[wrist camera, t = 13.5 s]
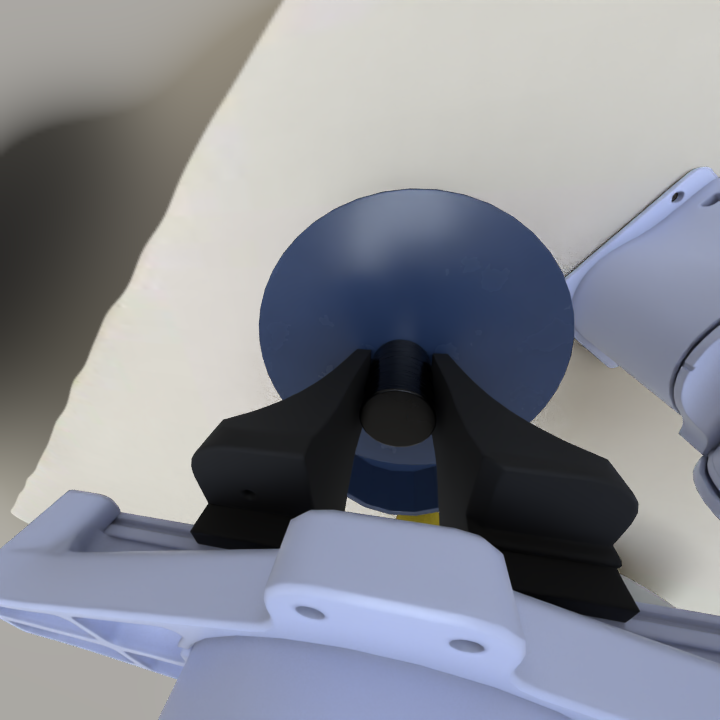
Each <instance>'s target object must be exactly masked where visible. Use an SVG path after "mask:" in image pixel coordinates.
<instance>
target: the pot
mask: <svg viewBox="0 0 720 720" xmlns="http://www.w3.org/2000/svg"><path fill="white" fill-rule="evenodd" d="M347 497H348V498H350V499H351V500H353V501H355V502H357V503H358V504H360V505H362V506H364V507H366V508H370V509H373V510H377V511H380V512H383V513H387V514H393V515H409V516H418V515H424V514H429V513H435V512H439V502H438V482H437V466H436V463H435V464H420V465H409V464H395V463H389V462H383V461H378V460H374V459H370V458H366V457H363V456H360V455H357V454H355V455H354V460H353V465H352V471H351V476H350V482H349V488H348V494H347Z"/></svg>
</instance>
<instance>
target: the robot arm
mask: <svg viewBox="0 0 720 720" xmlns="http://www.w3.org/2000/svg"><path fill="white" fill-rule="evenodd" d="M675 193H678V196H677V198H676V199H675V201H673V202H672V201H671V199H672V196H673V195H674V194H675ZM565 281H566V283H567V286H568V289H569V291H570V295H571V300H572V306H573V311H574V338H575V339H576V340H577V341H578V342H580V343H581V344H582V345H583V346H584V347H585V348H587V349H588V350H589V351H590V352H591V353H592V354H593V355H595V356H596V357H597V358H598V359H599V360H600V361H601V362H603V363H604V364H605V365H606V366H607V367H609V368H615V367H618V366H620V367H621V368H623V369H624V370H625V371H626V372H628V373H629V374H630V375H631V376H633V377H634V378H635V379H636V380H638V381H639V382H640V383H641V384H643V385H644V386H645V387H646V388H648V389H649V390H650V391H651V392H652V393H654V394H655V395H656V396H657V397H659V398H660V399H661V400H662V401H664V402H665V403H666V404H667V405H669V406H670V407H671V408H672V409H674V410H675V411H676V412H677V413H679V414H680V415H681V416H682V418H683V425H682V428H681V430H680V432H679V434H680V435H681V436H682V437H683V438H684V439H685V440H686V441H687V442H689V443H690V444H691V445H692V446H693V447H694V448H695V449H697V450H698V451H699V452H700V453H701V454H702V455H704V456H702V457H701V458H700V459H699V461H698V462H697V463H696V465H695V468H694V470H693V480H694V483H695V486H696V489H697V491H698V493H699V494H700V496H701V498H702V499H703V501H704V502H705V504H706V505H707V506H708V507H709V509H710V510H711V511H712V512H713V513H714V515H715V516H716V517H717V518H718V519H719V520H720V177H718V176H717V175H716V174H715V173H714V172H713V170H712V169H711V168H709V167H698V168H696V169H693V170H692V171H690V172H689V173H687V174H686V175H685V176H684V177H683V178H682V179H680V180H679V181H678V182H677V183H676V184H674V185H673V186H672V187H671V188H670V189H669V190H667V191H666V192H665V193H664V194H663V195H662V196H660V197H659V198H658V199H657V200H656V201H655V202H653V203H652V204H651V205H650V206H649V207H647V208H646V209H645V210H644V211H643V212H642V213H640V214H639V215H638V216H637V217H636V218H635V219H633V220H632V221H631V222H630V223H629V224H628V225H626V226H625V227H624V228H623V229H622V230H620V231H619V232H618V233H617V234H616V235H615V236H613V237H612V238H611V239H610V240H609V241H608V242H606V243H605V244H604V245H603V246H602V247H600V248H599V249H598V250H597V251H596V252H595V253H593V254H592V255H591V256H590V257H589V258H588V259H586V260H585V261H584V262H583V263H582V264H581V265H579V266H578V267H577V268H576V269H575V270H573V271H572V272H571V273H570V274H569V275H568V276H566V277H565ZM370 366H371V350H366V349H357V350H356V351H354V352H353V353H352V354H351V355H350V356H349V357H348V358H347V359H345V360H344V361H343V362H342V363H341V364H340V365H339V366H337V367H336V368H335V369H334V370H333V371H331V372H330V373H329V374H327V375H326V376H325V377H323V378H322V379H321V380H319V381H318V382H316V383H314V384H313V385H311V386H309V387H308V388H306V389H304V390H303V391H301V392H299V393H297V394H294V395H292V396H290V397H288V398H286V399H284V400H282V401H280V402H277V403H275V404H272V405H270V406H267V407H264V408H261V409H258V410H255V411H252V412H249V413H246V414H242V415H238V416H235V417H231V418H228V419H224V420H223V421H222V422H221V423H220V424H219V425H218V426H217V427H216V429H215V430H214V431H213V432H212V433H211V434H210V436H209V437H208V438H207V439H206V440H205V441H204V443H203V444H202V445H201V446H200V447H199V448H198V450H197V451H196V452H195V454H194V455H193V457H192V462H191V467H192V471H193V474H194V476H195V478H196V480H197V482H198V484H199V486H200V488H201V490H202V492H203V494H204V496H205V497H206V499H207V501H208V505H207V506H206V508H205V509H204V511H203V512H202V514H201V515H200V517H199V518H198V520H197V521H196V523H195V524H194V525H192V524H186V523H180V522H174V521H169V520H163V519H157V518H151V517H146V516H140V515H134V514H128V513H122V512H120V509H119V507H118V505H117V504H116V503H115V502H114V501H113V500H112V499H111V498H109V497H107V496H105V495H102V494H97V493H91V492H85V491H79V490H69V491H67V492H66V493H65V494H64V495H63V496H62V497H60V498H59V499H58V500H57V501H56V502H55V503H53V504H52V505H51V506H50V507H49V508H47V509H46V510H45V511H44V512H43V513H42V514H40V515H39V516H38V517H37V518H36V519H35V520H33V521H32V522H31V523H30V524H29V525H28V526H26V527H25V528H24V529H23V530H22V531H20V532H19V533H18V534H17V535H16V536H15V537H14V538H12V539H11V540H10V541H9V542H8V543H6V544H5V545H4V546H3V547H2V548H0V619H2V620H4V621H6V622H8V623H9V624H11V625H13V626H15V627H17V628H19V629H21V630H23V631H25V632H27V633H31V634H35V635H38V636H41V637H45V638H49V639H52V640H56V641H59V642H62V643H66V644H69V645H73V646H76V647H79V648H82V649H86V650H89V651H92V652H95V653H98V654H101V655H104V656H107V657H110V658H113V659H116V660H120V661H123V662H126V663H129V664H132V665H135V666H138V667H141V668H144V669H147V670H150V671H153V672H156V673H159V674H162V675H165V676H168V677H171V678H174V679H177V682H176V684H175V686H174V688H173V690H172V692H171V694H170V696H169V698H168V700H167V702H166V704H165V706H164V708H163V710H162V713H161V715H160V717H159V719H158V720H720V616H717V615H711V614H706V613H700V612H694V611H688V610H683V609H677V608H671V607H665V606H660V605H654V604H648V603H642V602H636V601H634V599H633V597H632V596H631V594H630V592H629V590H628V588H627V586H626V585H625V583H624V581H623V579H622V577H621V576H620V574H619V572H618V570H617V568H620V567H621V566H622V562H621V559H620V558H619V556H618V554H617V552H616V551H615V549H614V547H613V544H614V543H615V542H616V541H617V540H618V539H619V538H620V536H621V535H622V534H623V533H624V532H625V531H626V530H627V529H628V527H629V526H630V525H631V524H632V522H633V520H634V519H635V517H636V515H637V513H638V501H637V499H636V497H635V495H634V494H633V492H632V491H631V489H630V488H629V487H628V485H627V484H626V483H625V482H624V480H623V479H622V478H621V476H620V475H619V474H618V472H617V471H616V470H615V468H614V467H613V466H612V464H611V463H610V462H609V461H608V460H607V459H605V458H603V457H600V456H598V455H596V454H593V453H591V452H589V451H586V450H584V449H582V448H579V447H577V446H575V445H572V444H570V443H568V442H566V441H564V440H562V439H560V438H558V437H556V436H554V435H552V434H550V433H548V432H546V431H544V430H542V429H540V428H538V427H537V426H535V425H533V424H531V423H529V422H528V421H526V420H525V419H523V418H521V417H520V416H518V415H516V414H515V413H513V412H512V411H510V410H509V409H507V408H506V407H504V406H503V405H502V404H500V403H499V402H498V401H496V400H495V399H493V398H492V397H491V396H490V395H488V394H487V393H486V392H485V391H484V390H483V389H481V388H480V387H479V386H478V385H477V384H476V383H475V382H474V381H473V380H472V379H471V378H470V377H469V376H468V375H467V374H466V373H465V372H464V371H463V370H462V369H461V368H460V367H459V366H458V365H457V364H456V362H455V361H454V360H453V359H452V358H451V357H450V356H449V355H448V354H437V353H433V356H432V364H431V372H432V381H433V390H434V399H435V408H436V416H437V423H436V427H435V429H434V431H433V433H432V438H433V445H434V451H435V457H436V466H437V482H438V502H439V526H438V525H432V524H425V523H418V522H412V521H405V520H398V519H392V518H385V517H378V516H372V515H365V514H358V513H352V512H345V506H346V500H347V494H348V488H349V482H350V476H351V471H352V465H353V460H354V455H355V451H356V447H357V444H358V441H359V437H360V434H361V430H362V425H361V422H360V418H359V411H360V407H361V403H362V399H363V395H364V391H365V387H366V383H367V379H368V375H369V370H370Z"/></svg>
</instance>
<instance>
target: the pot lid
mask: <svg viewBox="0 0 720 720" xmlns="http://www.w3.org/2000/svg"><path fill="white" fill-rule="evenodd" d="M259 337H260V346H261V351H262V357H263V360H264V363H265V366H266V369H267V372H268V374H269V377H270V379H271V381H272V383H273V385H274V387H275V389H276V390H277V392H278V394H279V395H280V397H281V398H282V400H284V399H286V398H288V397H290V396H292V395H294V394H297V393H299V392H301V391H303V390H304V389H306V388H308V387H309V386H311V385H313V384H314V383H316V382H318V381H319V380H321V379H322V378H323V377H325V376H326V375H327V374H329V373H330V372H331V371H333V370H334V369H335V368H336V367H337V366H339V365H340V364H341V363H342V362H343V361H344V360H345V359H347V358H348V357H349V356H350V355H351V354H352V353H353V352H354V351H356V350H357V349H366V350H371V366H370V370H369V375H368V379H367V383H366V387H365V391H364V395H363V399H362V403H361V407H360V411H359V418H360V422H361V425H362V430H361V434H360V437H359V441H358V444H357V447H356V451H355V454H357V455H360V456H363V457H366V458H370V459H374V460H378V461H383V462H389V463H395V464H409V465H420V464H435V463H436V457H435V451H434V445H433V438H432V433H433V431H434V429H435V427H436V423H437V416H436V408H435V399H434V390H433V381H432V372H431V364H432V356H433V353H437V354H448V355H449V356H450V357H451V358H452V359H453V360H454V361H455V362H456V364H457V365H458V366H459V367H460V368H461V369H462V370H463V371H464V372H465V373H466V374H467V375H468V376H469V377H470V378H471V379H472V380H473V381H474V382H475V383H476V384H477V385H478V386H479V387H480V388H481V389H483V390H484V391H485V392H486V393H487V394H488V395H490V396H491V397H492V398H493V399H495V400H496V401H498V402H499V403H500V404H502V405H503V406H504V407H506V408H507V409H509V410H510V411H512V412H513V413H515V414H516V415H518V416H520V417H521V418H523V419H525V420H526V421H528V422H529V423H530V422H531V421H532V420H533V419H534V418H535V417H536V416H537V415H538V414H539V413H540V412H541V410H542V409H543V408H544V407H545V406H546V405H547V403H548V402H549V400H550V399H551V398H552V396H553V395H554V393H555V392H556V390H557V388H558V386H559V384H560V383H561V381H562V379H563V377H564V375H565V372H566V369H567V366H568V363H569V360H570V357H571V353H572V347H573V340H574V311H573V306H572V300H571V295H570V291H569V289H568V286H567V283H566V281H565V278H564V275H563V273H562V271H561V269H560V267H559V266H558V264H557V262H556V261H555V259H554V258H553V256H552V254H551V253H550V251H549V250H548V249H547V248H546V247H545V245H544V244H543V243H542V242H541V241H540V240H539V239H538V237H537V236H536V235H535V234H534V233H533V232H532V231H531V230H529V229H528V228H527V227H526V226H524V225H523V224H522V223H521V222H519V221H518V220H517V219H516V218H514V217H513V216H511V215H509V214H508V213H506V212H504V211H502V210H500V209H499V208H497V207H495V206H493V205H491V204H489V203H486V202H484V201H481V200H478V199H475V198H473V197H470V196H467V195H464V194H459V193H454V192H448V191H443V190H438V189H402V190H393V191H385V192H380V193H376V194H373V195H369V196H366V197H362V198H358V199H356V200H354V201H351V202H349V203H347V204H345V205H342V206H340V207H338V208H336V209H334V210H332V211H331V212H329V213H327V214H326V215H324V216H323V217H321V218H320V219H318V220H317V221H315V222H314V223H312V224H311V225H310V226H309V227H308V228H307V229H306V230H304V231H303V232H302V233H301V234H300V235H299V236H298V237H297V238H296V239H295V240H294V241H293V242H292V244H291V245H290V246H289V247H288V248H287V250H286V251H285V252H284V253H283V255H282V256H281V258H280V260H279V261H278V263H277V265H276V266H275V268H274V269H273V271H272V274H271V276H270V278H269V281H268V283H267V286H266V288H265V291H264V295H263V299H262V303H261V309H260V319H259Z"/></svg>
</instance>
